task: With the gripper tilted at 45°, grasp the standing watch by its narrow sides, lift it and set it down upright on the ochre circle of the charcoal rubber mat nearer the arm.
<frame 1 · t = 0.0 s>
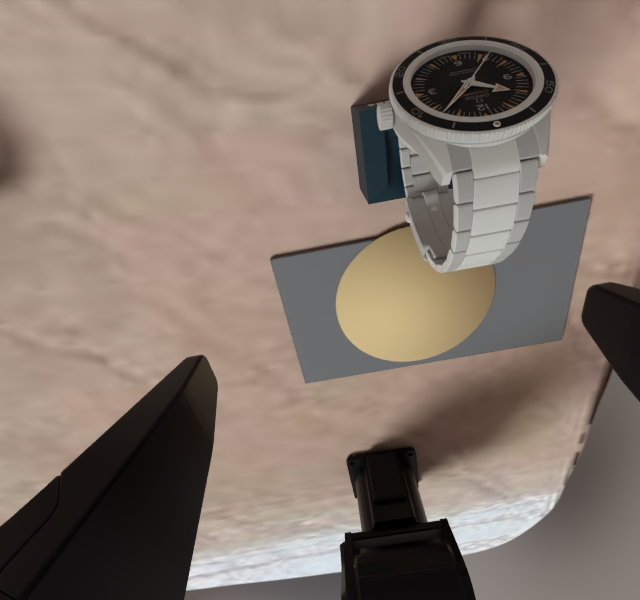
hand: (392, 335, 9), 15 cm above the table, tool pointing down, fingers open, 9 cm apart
watch: (403, 138, 20), on the table
mat: (427, 301, 26), on the table
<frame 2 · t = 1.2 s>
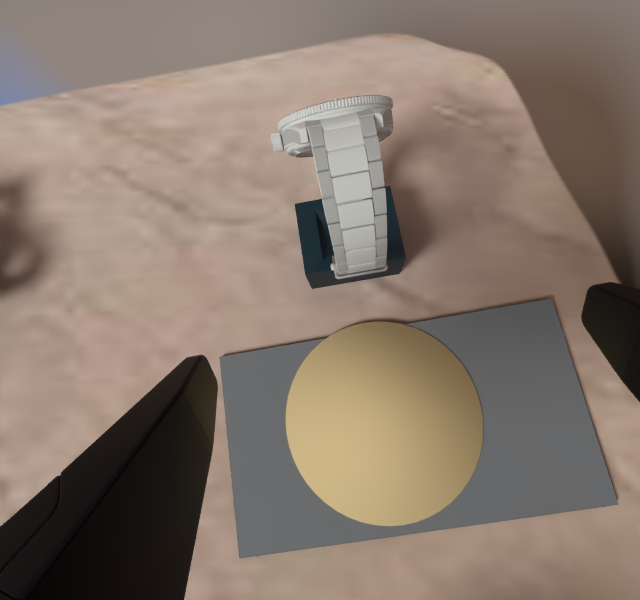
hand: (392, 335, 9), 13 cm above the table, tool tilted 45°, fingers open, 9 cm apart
watch: (348, 249, 23), on the table
mat: (400, 423, 21), on the table
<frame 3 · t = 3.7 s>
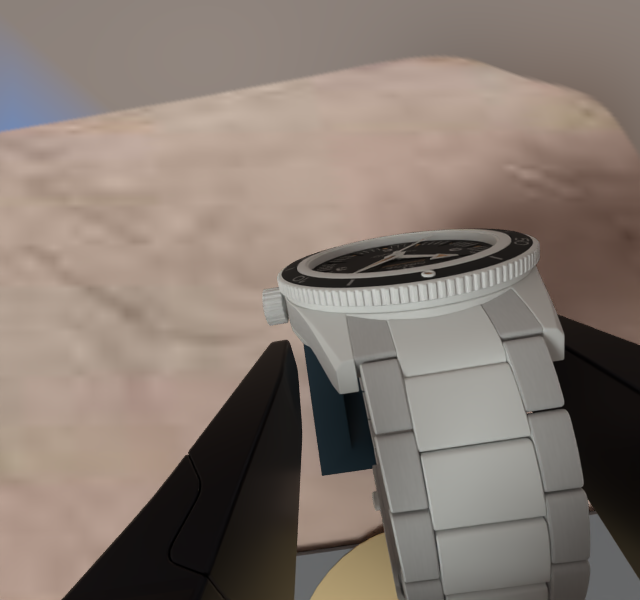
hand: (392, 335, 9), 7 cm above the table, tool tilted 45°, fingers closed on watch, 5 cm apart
watch: (383, 389, 15), on the table, touching gripper
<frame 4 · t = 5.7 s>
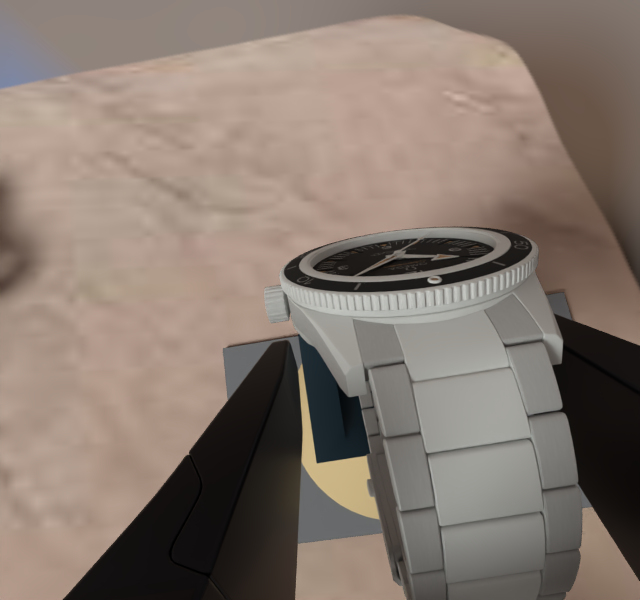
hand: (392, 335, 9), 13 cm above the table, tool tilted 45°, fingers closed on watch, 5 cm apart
watch: (374, 378, 16), point 5 cm above the table, touching gripper
mat: (405, 417, 20), on the table
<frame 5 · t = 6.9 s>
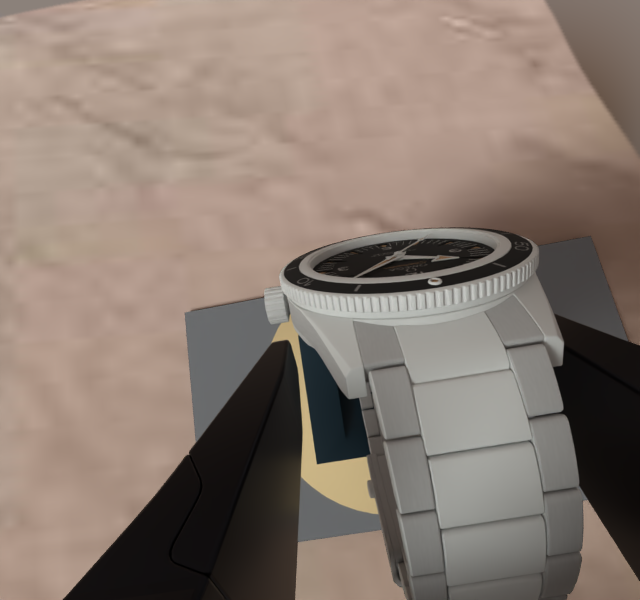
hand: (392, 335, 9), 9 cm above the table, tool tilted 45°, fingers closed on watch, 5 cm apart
watch: (374, 378, 16), point 1 cm above the table, touching gripper
mat: (404, 389, 17), on the table
when the fingers open (9 cm above the table, at t = 7.8 s): watch stays where it is, resting on mat.
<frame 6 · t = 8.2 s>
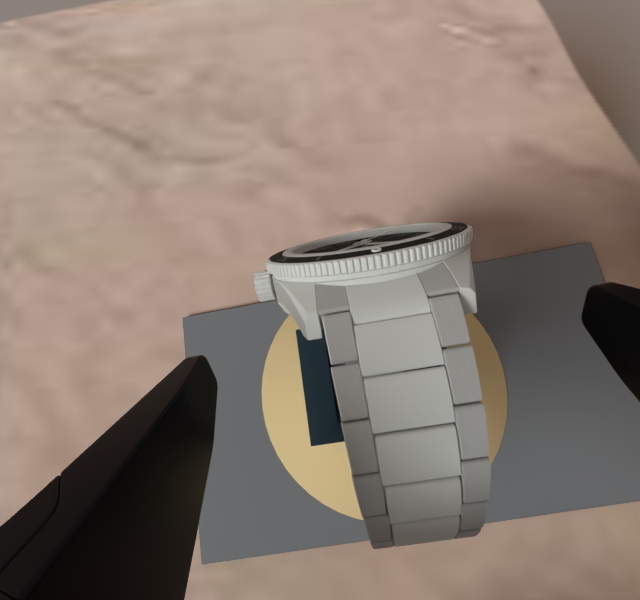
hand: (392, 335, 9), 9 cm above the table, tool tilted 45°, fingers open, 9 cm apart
watch: (370, 376, 17), resting on mat
mat: (403, 395, 17), on the table
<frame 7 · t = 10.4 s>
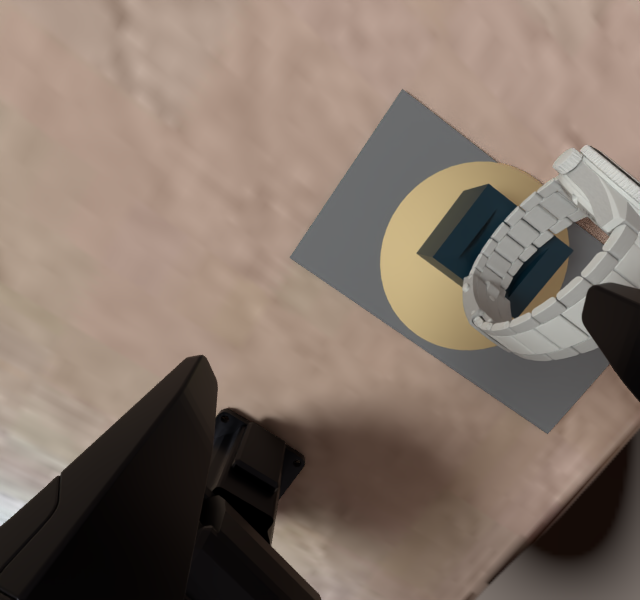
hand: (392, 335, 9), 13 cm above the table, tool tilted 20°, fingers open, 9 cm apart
watch: (475, 248, 21), resting on mat
mat: (479, 276, 22), on the table
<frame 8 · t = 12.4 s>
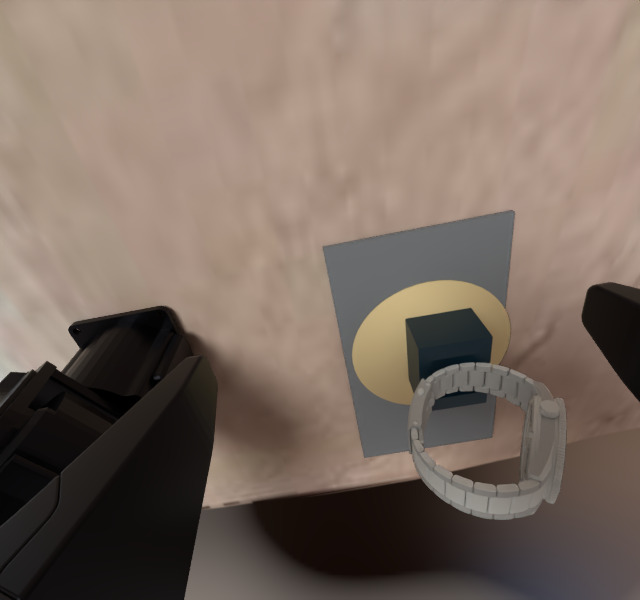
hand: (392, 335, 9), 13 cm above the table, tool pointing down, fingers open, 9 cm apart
watch: (438, 343, 25), resting on mat
mat: (422, 358, 26), on the table
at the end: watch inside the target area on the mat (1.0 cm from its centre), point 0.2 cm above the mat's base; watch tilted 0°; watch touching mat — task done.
